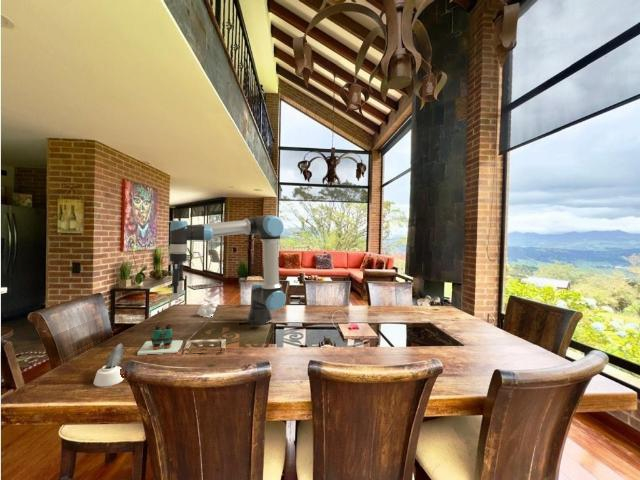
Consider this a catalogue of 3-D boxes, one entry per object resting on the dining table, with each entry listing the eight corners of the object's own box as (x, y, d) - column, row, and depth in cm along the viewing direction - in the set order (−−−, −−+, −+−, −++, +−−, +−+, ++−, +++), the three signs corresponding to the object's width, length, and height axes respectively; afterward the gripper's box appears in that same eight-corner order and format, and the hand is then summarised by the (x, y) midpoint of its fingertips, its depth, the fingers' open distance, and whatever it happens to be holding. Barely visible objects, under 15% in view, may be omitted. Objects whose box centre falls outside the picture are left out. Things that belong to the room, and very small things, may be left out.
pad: (182, 342, 159) (182, 340, 159) (177, 353, 145) (177, 351, 145) (146, 343, 155) (146, 341, 155) (137, 355, 141) (137, 352, 141)
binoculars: (172, 320, 157) (174, 324, 148) (171, 343, 156) (173, 348, 147) (151, 322, 153) (151, 326, 144) (150, 345, 152) (150, 350, 143)
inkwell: (88, 388, 111) (90, 358, 111) (105, 366, 128) (106, 341, 128) (120, 385, 114) (121, 357, 114) (132, 365, 131) (133, 340, 131)
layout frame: (225, 340, 165) (225, 339, 165) (224, 352, 149) (225, 351, 149) (187, 341, 161) (187, 340, 161) (182, 354, 144) (182, 353, 144)
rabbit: (218, 315, 210) (219, 297, 210) (210, 319, 201) (211, 299, 201) (200, 314, 213) (201, 295, 212) (192, 317, 203) (193, 298, 203)
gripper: (173, 250, 170) (173, 291, 170) (165, 255, 146) (164, 303, 146) (189, 251, 172) (188, 291, 172) (183, 255, 148) (182, 302, 148)
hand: (177, 296), depth 159 cm, fingers open, 13 cm apart
